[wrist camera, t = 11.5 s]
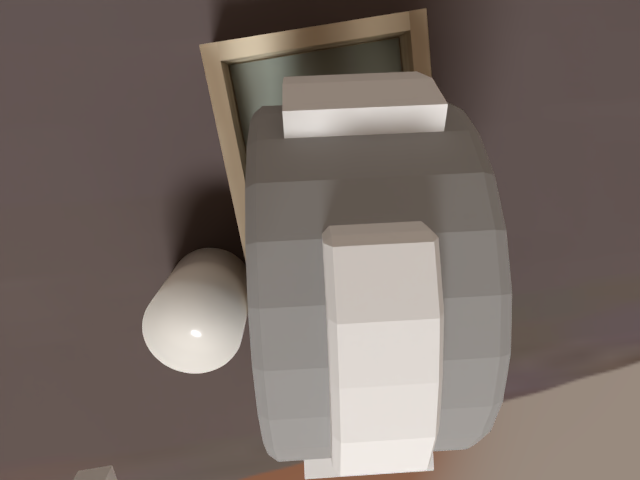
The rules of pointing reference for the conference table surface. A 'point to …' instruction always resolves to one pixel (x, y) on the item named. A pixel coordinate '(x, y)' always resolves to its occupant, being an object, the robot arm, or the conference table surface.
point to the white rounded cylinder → (198, 312)
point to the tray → (300, 73)
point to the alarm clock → (373, 275)
